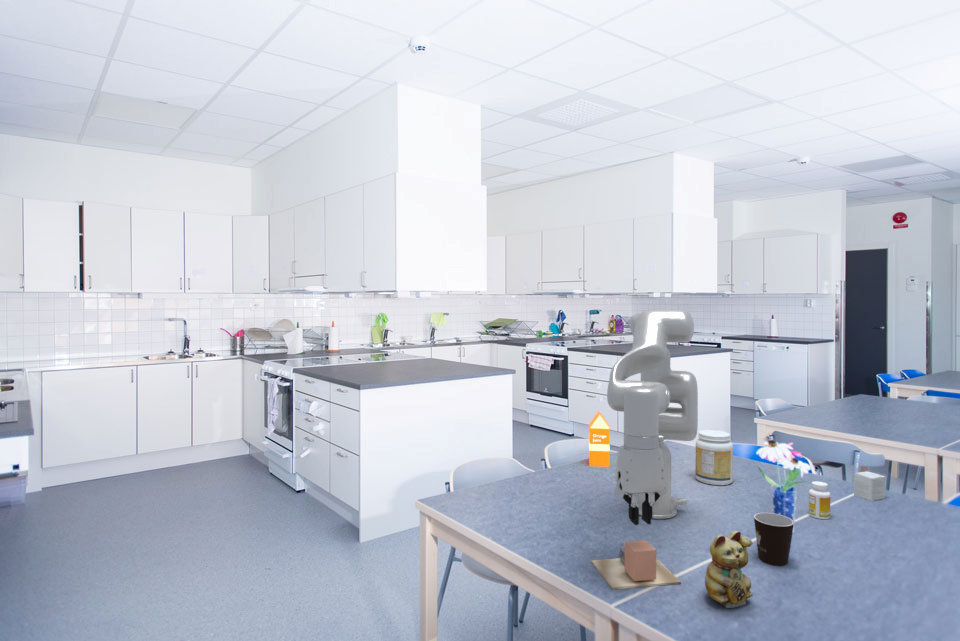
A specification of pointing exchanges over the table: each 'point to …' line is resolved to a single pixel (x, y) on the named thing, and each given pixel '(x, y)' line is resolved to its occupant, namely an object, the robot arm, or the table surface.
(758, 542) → the coffee mug
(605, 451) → the orange juice
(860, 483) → the pale grey block
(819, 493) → the supplement bottle
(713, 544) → the decorative figurine
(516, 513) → the table surface
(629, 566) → the salmon pink toy brick
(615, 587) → the board
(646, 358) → the robot arm
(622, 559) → the silver gray cube
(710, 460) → the supplement tub
